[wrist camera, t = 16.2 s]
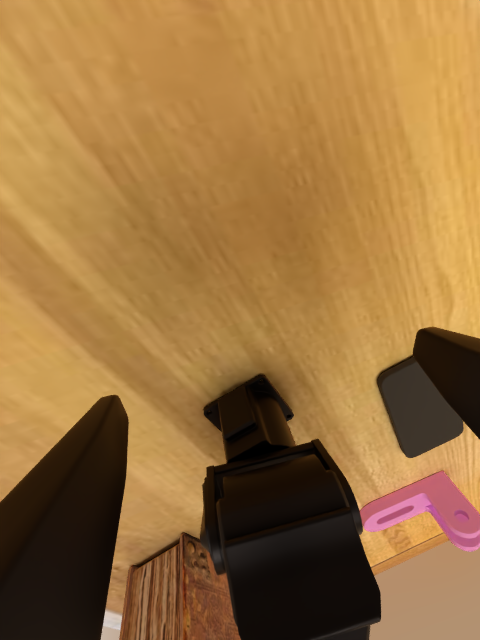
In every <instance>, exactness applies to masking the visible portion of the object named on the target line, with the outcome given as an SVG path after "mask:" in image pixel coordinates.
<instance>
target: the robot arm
mask: <svg viewBox="0 0 480 640" xmlns="http://www.w3.org/2000/svg"><path fill="white" fill-rule="evenodd" d="M413 355H414V358H415V360H416V361H417V363H418V364H419V365H420V367H421V368H422V369H423V371H424V372H425V374H426V375H427V376H428V378H429V379H430V380H431V382H432V383H433V384H434V386H435V387H436V389H437V390H438V391H439V393H440V394H441V395H442V397H443V398H444V399H445V400H446V402H447V403H448V404H449V405H450V406H451V408H452V409H453V410H454V411H455V412H456V413H457V414H458V415H459V417H460V418H461V419H462V420H463V421H464V422H465V423H466V425H467V426H468V427H469V428H470V429H471V430H472V431H473V432H474V434H475V435H476V436H477V437H478V438H479V439H480V339H479V338H475V337H471V336H467V335H463V334H460V333H456V332H452V331H448V330H444V329H440V328H436V327H428V328H423V329H420V330H419V331H418V332H417V334H416V339H415V344H414V348H413ZM260 380H262V381H260ZM203 410H204V415H205V417H207V418H208V419H209V420H210V421H211V422H212V423H213V424H214V425H215V426H216V427H217V428H218V429H219V430H220V431H221V432H222V436H223V442H224V449H225V455H226V462H227V463H226V464H222V465H218V466H215V467H214V465H213V466H209V467H207V477H206V478H205V482H204V484H203V485H202V486H203V503H204V508H203V517H202V524H201V532H200V541H201V546H202V547H203V548H205V549H206V550H207V551H208V552H209V553H210V557H211V560H212V561H213V564H214V568H215V571H216V574H217V576H218V575H221V574H225V573H226V575H227V581H228V587H229V593H230V599H231V605H232V611H233V617H234V621H235V624H236V626H237V627H238V633H239V636H240V638H241V640H369V634H370V625H371V624H374V623H377V622H380V620H381V600H380V590H379V587H378V585H377V582H376V580H375V577H374V575H373V572H372V570H371V567H370V565H369V562H368V560H367V557H366V555H365V552H364V549H363V546H362V543H361V539H360V536H359V535H360V534H362V532H363V526H362V519H361V515H360V511H359V508H358V505H357V502H356V499H355V497H354V494H353V492H352V490H351V487H350V485H349V483H348V481H347V480H346V478H345V476H344V475H343V473H342V472H341V470H340V469H339V468H338V466H337V465H336V463H335V462H334V460H333V459H332V458H331V456H330V455H329V453H328V452H327V450H326V449H325V448H324V446H323V445H322V443H321V442H320V441H319V439H316V440H312V441H311V442H309V443H305V444H301V445H297V446H296V444H295V441H294V439H293V436H292V434H291V431H290V429H289V426H288V424H287V421H289V420H291V419H292V418H293V417H294V414H293V412H292V410H291V409H290V408H289V406H288V405H287V404H286V402H285V401H284V400H283V398H282V397H281V396H280V395H279V393H278V392H277V391H276V389H275V388H274V387H273V385H272V384H271V383H270V381H269V380H268V379H267V377H266V376H265V375H258V376H256V377H255V378H253V379H251V380H250V381H248V382H246V383H245V384H243V385H241V386H240V387H238V388H236V389H235V390H233V391H231V392H229V393H228V394H226V395H224V396H223V397H221V398H219V399H218V400H216V401H214V402H213V403H211V404H209V405H208V406H206V407H205V408H204V409H203ZM208 411H210V412H208ZM128 424H129V422H128V416H127V413H126V411H125V409H124V407H123V404H122V402H121V400H120V398H119V397H118V395H110V396H106V397H102V398H100V399H99V400H98V401H97V402H96V403H95V404H94V405H93V407H92V408H91V409H90V410H89V411H88V412H87V413H86V414H85V415H84V416H83V417H82V418H81V419H80V420H79V421H78V422H77V423H76V424H75V425H74V426H73V427H72V428H71V429H70V430H69V431H68V432H67V434H66V435H65V436H64V437H63V438H62V439H61V440H60V441H59V442H58V443H57V444H56V445H55V446H54V447H53V448H52V449H51V450H50V451H49V452H48V453H47V454H46V455H45V456H44V457H43V458H42V460H41V461H40V462H39V463H38V464H37V465H36V466H35V467H34V468H33V469H32V470H31V471H30V472H29V473H28V474H27V475H26V476H25V477H24V478H23V479H22V480H21V481H20V482H19V483H18V484H17V485H16V487H15V488H14V489H13V490H12V491H11V492H10V493H9V494H8V495H7V496H6V497H5V498H4V499H3V500H2V501H1V502H0V640H100V639H101V633H102V627H103V621H104V614H105V608H106V602H107V595H108V589H109V583H110V576H111V570H112V564H113V557H114V551H115V545H116V538H117V532H118V526H119V519H120V513H121V507H122V500H123V494H124V488H125V480H126V469H127V447H128Z"/></svg>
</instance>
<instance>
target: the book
mask: <svg viewBox="0 0 480 640" xmlns="http://www.w3.org/2000/svg"><path fill="white" fill-rule="evenodd" d="M119 640H241V638H240V636H239V633H238V627H237V626H236V624H235V621H234V617H233V611H232V605H231V599H230V593H229V587H228V581H227V575H226V573H225V574H221V575H218V576H217V574H216V571H215V568H214V564H213V561H212V560H211V557H210V553H209V552H208V551H207V550H206V549H205V548H203V547H202V546H201V541H200V540H199V539H197V538H195V537H192V536H190V535H188V534H186V533H183V534H182V535H181V536H180V543H179V544H178V545H176V546H174V547H173V548H171V549H169V550H168V551H166V552H164V553H163V554H161V555H159V556H158V557H156V558H154V559H153V560H151V561H150V562H148V563H146V564H145V565H143V566H141V567H140V568H139V567H136V566H132V567H130V569H129V570H128V577H127V585H126V593H125V600H124V608H123V615H122V623H121V631H120V638H119Z"/></svg>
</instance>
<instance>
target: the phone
mask: <svg viewBox="0 0 480 640" xmlns="http://www.w3.org/2000/svg"><path fill="white" fill-rule="evenodd" d="M378 386H379V389H380V392H381V394H382V397H383V400H384V403H385V405H386V408H387V411H388V414H389V416H390V419H391V422H392V425H393V427H394V430H395V433H396V436H397V438H398V441H399V444H400V447H401V449H402V451H403V453H404V454H405V455H406V457H408V458H413V457H416V456H419V455H421V454H423V453H425V452H427V451H429V450H431V449H433V448H435V447H437V446H439V445H442V444H444V443H446V442H448V441H450V440H452V439H454V438H456V437H458V436H459V435H460V434H461V433H462V432H463V420H462V419H461V418H460V417H459V415H458V414H457V413H456V412H455V411H454V410H453V409H452V408H451V406H450V405H449V404H448V403H447V402H446V400H445V399H444V398H443V397H442V395H441V394H440V393H439V391H438V390H437V389H436V387H435V386H434V384H433V383H432V382H431V380H430V379H429V378H428V376H427V375H426V374H425V372H424V371H423V369H422V368H421V367H420V365H419V364H418V363H417V361H416V360H415V358H414V357H412V358H410V359H408V360H406V361H404V362H402V363H400V364H399V365H397V366H395V367H393V368H391V369H389V370H387V371H385V372H384V373H383V374H381V376H380V377H379V379H378Z"/></svg>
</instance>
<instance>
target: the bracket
mask: <svg viewBox="0 0 480 640" xmlns="http://www.w3.org/2000/svg"><path fill="white" fill-rule="evenodd" d="M425 511H427V512H430V513H431V514H432V516H433V517H434V519H435V520H436V521H437V523H438V524H439V526H440V527H441V528H442V530H443V531H444V533H445V534H446V535H447V537H448V538H449V540H450V541H451V542H452V543H453V544H454V545H455V546H456V547H458V548H460V549H462V550H464V551H475V550H477V549H478V548H479V547H480V515H479V513H478V512H477V510H476V509H475V508H474V507H473V505H472V504H471V503H470V502H469V501H468V500H467V498H466V497H465V496H464V495H463V494H462V493H461V491H460V490H459V489H458V488H457V487H456V485H455V484H454V483H453V482H452V481H451V480H450V478H449V477H448V476H447V475H446V474H445V473H444V471H440V472H438V473H436V474H434V475H431V476H429V477H427V478H425V479H422V480H420V481H418V482H416V483H413V484H411V485H409V486H406V487H404V488H402V489H400V490H397V491H395V492H393V493H391V494H388V495H386V496H384V497H382V498H379V499H377V500H375V501H373V502H371V503H369V504H367V505H366V506H365V507H363V508H362V509H361V511H360V515H361V519H362V525H363V527H364V529H365V530H367V531H370V532H375V531H380V530H383V529H386V528H388V527H391V526H393V525H395V524H398V523H400V522H402V521H404V520H407V519H409V518H411V517H414V516H416V515H418V514H421V513H423V512H425Z"/></svg>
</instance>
